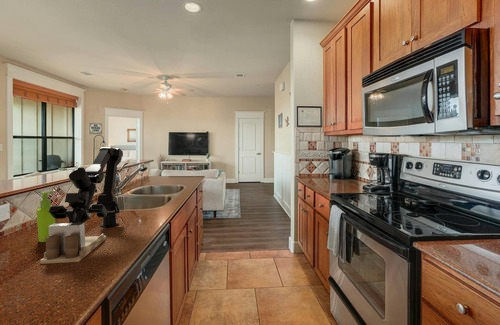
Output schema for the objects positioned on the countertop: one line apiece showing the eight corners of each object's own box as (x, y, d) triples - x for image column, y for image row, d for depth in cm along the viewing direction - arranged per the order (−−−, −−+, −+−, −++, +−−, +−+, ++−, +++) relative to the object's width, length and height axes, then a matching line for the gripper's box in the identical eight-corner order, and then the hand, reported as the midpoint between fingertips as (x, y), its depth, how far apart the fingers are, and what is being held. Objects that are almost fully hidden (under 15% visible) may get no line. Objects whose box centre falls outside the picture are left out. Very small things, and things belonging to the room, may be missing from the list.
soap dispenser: (62, 237, 111) (59, 191, 110) (44, 242, 105) (42, 193, 103) (52, 235, 113) (50, 190, 112) (35, 241, 107) (32, 193, 105)
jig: (75, 239, 108) (74, 220, 107) (106, 238, 110) (105, 219, 109) (40, 263, 86) (38, 239, 86) (78, 261, 88) (77, 237, 87)
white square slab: (55, 251, 93) (54, 223, 92) (85, 249, 94) (84, 222, 93) (50, 254, 90) (48, 226, 89) (81, 253, 91) (79, 225, 91)
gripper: (50, 184, 97) (31, 222, 87) (103, 183, 99) (90, 220, 89) (63, 200, 105) (47, 236, 95) (112, 199, 108) (101, 234, 98)
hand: (71, 231), depth 94 cm, fingers closed
